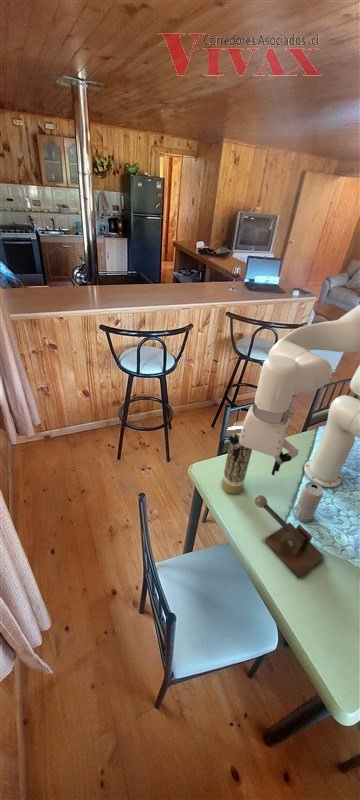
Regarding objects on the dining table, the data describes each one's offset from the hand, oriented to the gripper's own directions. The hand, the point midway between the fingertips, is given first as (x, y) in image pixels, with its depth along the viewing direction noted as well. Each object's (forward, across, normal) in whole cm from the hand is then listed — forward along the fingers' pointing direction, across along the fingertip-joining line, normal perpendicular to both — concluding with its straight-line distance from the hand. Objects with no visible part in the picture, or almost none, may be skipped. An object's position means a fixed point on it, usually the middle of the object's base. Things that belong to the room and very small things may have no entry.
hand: (254, 464), depth 83 cm
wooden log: (+25, +6, -13) cm, 29 cm away
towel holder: (+25, -16, +1) cm, 30 cm away
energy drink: (+25, -17, -13) cm, 33 cm away
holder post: (+21, -10, -3) cm, 24 cm away
